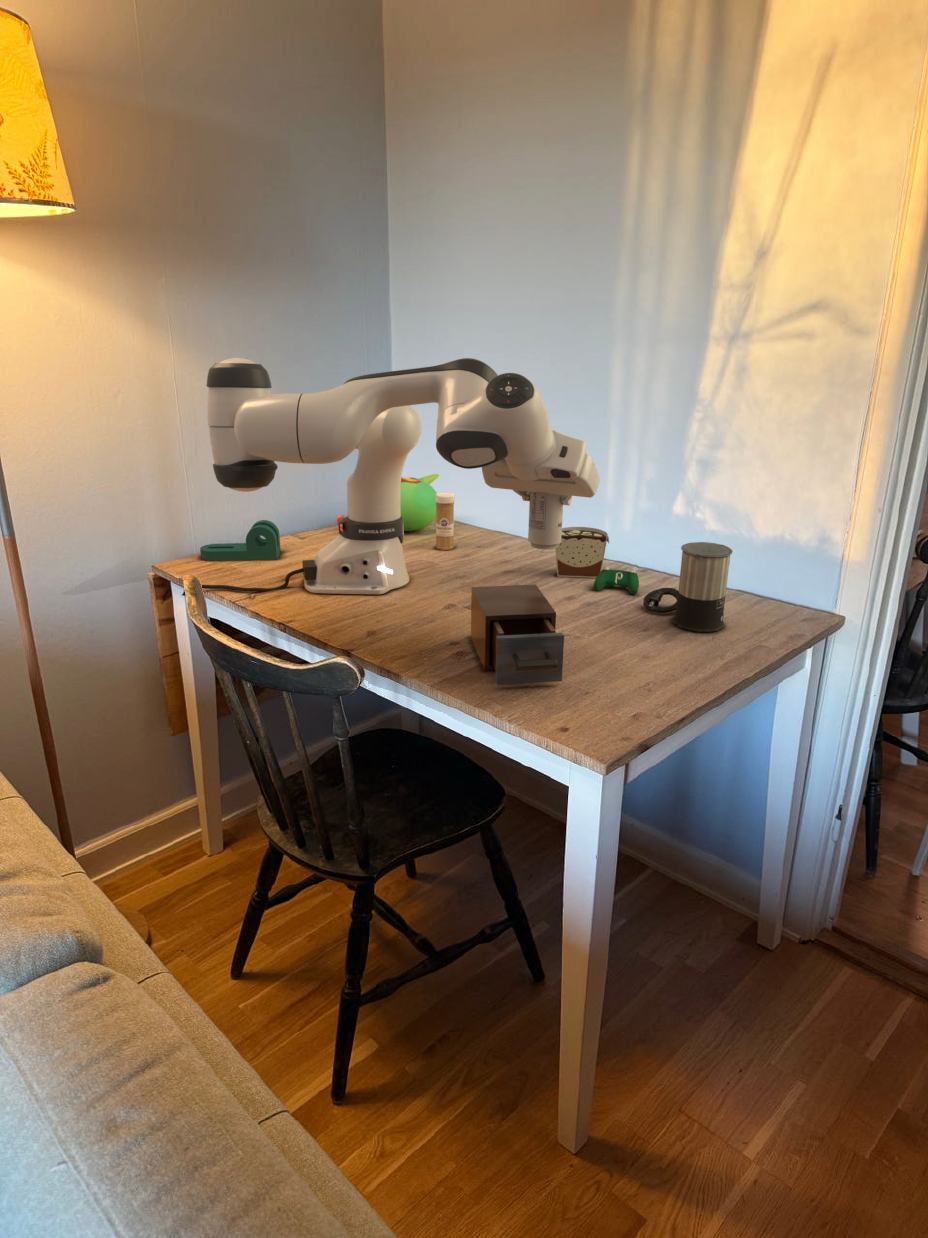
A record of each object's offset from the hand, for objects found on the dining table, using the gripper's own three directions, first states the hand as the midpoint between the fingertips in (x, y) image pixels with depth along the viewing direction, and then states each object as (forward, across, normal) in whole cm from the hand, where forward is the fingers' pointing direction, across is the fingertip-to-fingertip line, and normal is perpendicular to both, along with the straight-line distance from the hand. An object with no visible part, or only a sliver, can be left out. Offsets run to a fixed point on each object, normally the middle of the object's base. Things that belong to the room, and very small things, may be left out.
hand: (547, 499), depth 148 cm
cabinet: (+5, 0, -28) cm, 29 cm away
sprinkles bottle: (+43, -38, +10) cm, 58 cm away
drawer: (-2, +6, -34) cm, 34 cm away
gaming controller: (+34, +8, +1) cm, 35 cm away
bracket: (+24, -79, -10) cm, 83 cm away
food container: (+39, -3, +6) cm, 40 cm away
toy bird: (+51, -55, +18) cm, 77 cm away
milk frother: (+26, +24, -7) cm, 36 cm away
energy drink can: (+6, 0, -6) cm, 9 cm away
